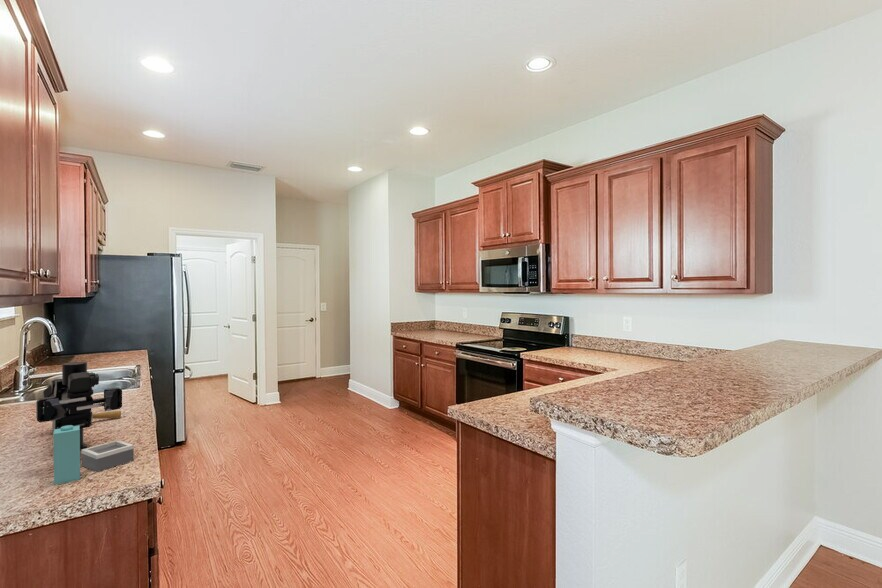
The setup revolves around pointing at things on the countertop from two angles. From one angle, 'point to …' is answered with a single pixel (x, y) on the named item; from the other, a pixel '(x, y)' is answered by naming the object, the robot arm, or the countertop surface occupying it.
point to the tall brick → (66, 454)
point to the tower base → (107, 455)
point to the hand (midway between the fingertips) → (87, 410)
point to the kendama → (107, 415)
